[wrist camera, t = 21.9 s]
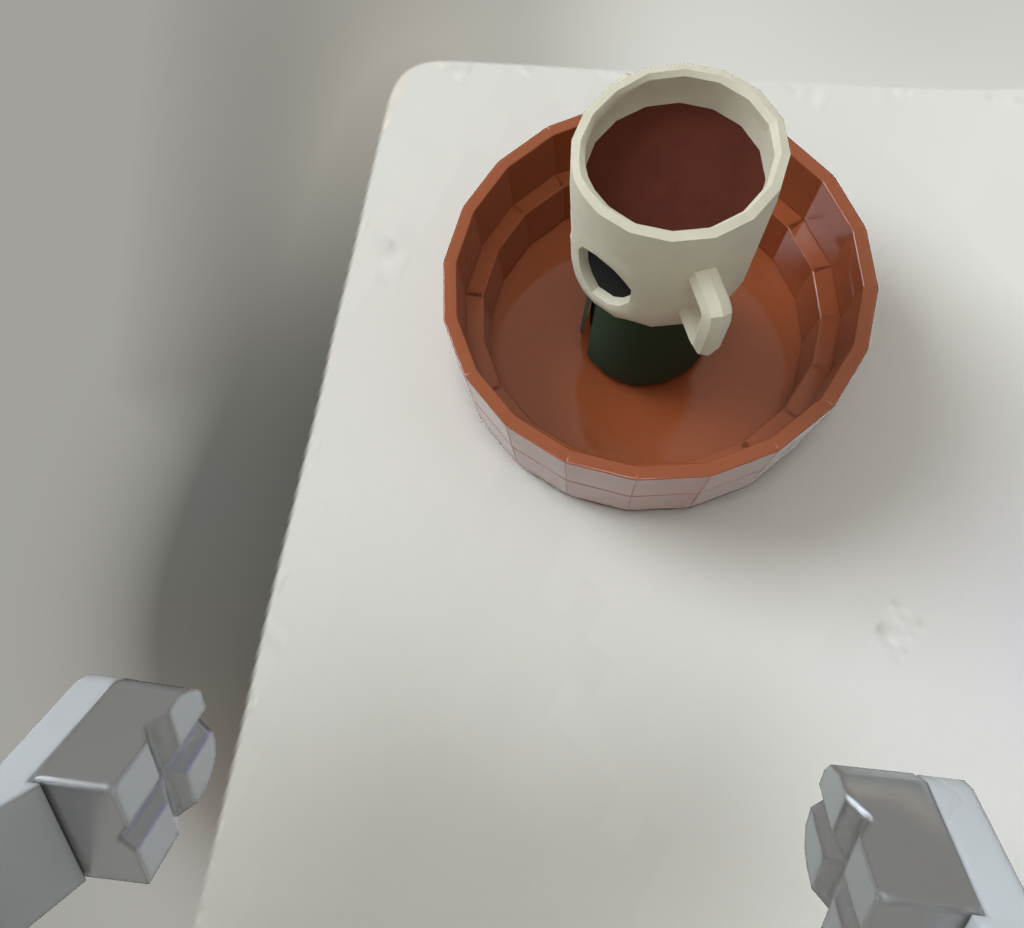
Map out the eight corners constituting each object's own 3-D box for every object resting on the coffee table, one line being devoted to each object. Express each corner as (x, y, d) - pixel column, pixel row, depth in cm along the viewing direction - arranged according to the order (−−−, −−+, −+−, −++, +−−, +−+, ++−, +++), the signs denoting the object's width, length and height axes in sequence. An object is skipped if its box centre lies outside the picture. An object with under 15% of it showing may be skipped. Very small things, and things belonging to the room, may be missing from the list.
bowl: (419, 459, 35) (387, 418, 29) (519, 160, 39) (509, 74, 34) (790, 556, 32) (837, 530, 26) (853, 221, 36) (904, 137, 31)
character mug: (545, 261, 37) (528, 53, 24) (676, 224, 37) (726, -4, 24) (606, 451, 33) (623, 322, 21) (750, 411, 33) (852, 257, 21)
